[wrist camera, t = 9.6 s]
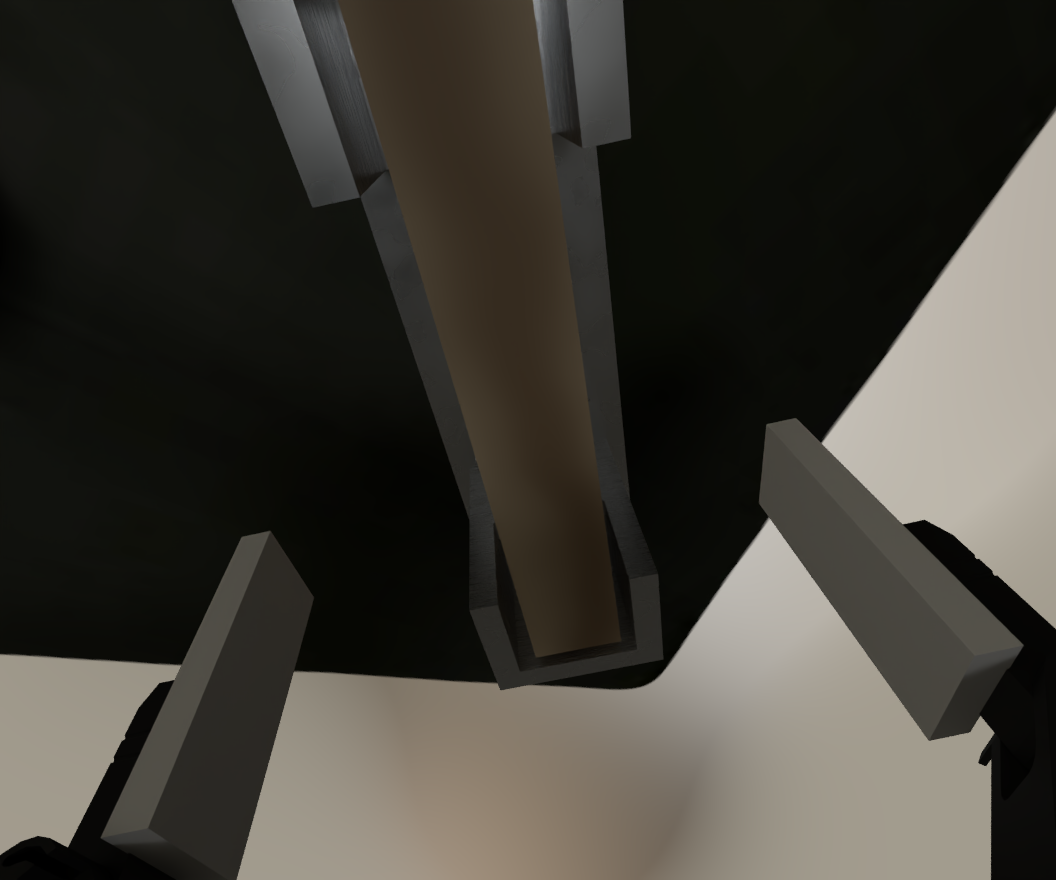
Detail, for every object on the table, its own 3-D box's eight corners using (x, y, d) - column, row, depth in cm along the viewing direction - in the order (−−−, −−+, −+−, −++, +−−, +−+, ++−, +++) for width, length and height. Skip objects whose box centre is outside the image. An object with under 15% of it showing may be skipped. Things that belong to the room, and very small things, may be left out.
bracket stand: (480, 542, 35) (484, 702, 26) (280, -63, 18) (90, -207, 9) (628, 513, 35) (684, 664, 26) (564, -129, 18) (660, -346, 9)
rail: (526, 574, 28) (535, 657, 24) (371, 13, 15) (333, -14, 11) (599, 560, 28) (621, 641, 24) (509, -18, 15) (524, -57, 11)
